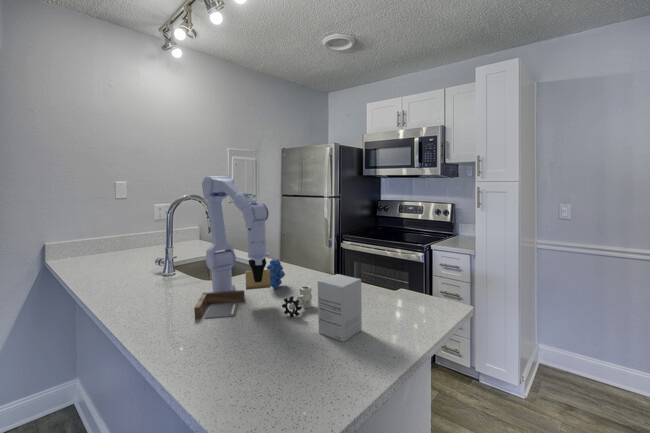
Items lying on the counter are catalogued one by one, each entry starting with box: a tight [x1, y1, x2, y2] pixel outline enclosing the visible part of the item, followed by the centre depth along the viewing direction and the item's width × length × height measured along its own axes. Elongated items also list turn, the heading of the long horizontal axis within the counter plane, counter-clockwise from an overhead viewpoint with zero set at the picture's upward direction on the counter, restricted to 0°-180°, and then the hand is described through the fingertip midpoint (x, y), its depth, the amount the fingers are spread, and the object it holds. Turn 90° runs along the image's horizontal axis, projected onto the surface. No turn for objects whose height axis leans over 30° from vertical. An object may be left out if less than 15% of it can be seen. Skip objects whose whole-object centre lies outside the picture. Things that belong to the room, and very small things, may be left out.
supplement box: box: [317, 273, 363, 343], centre depth 91 cm, size 9×9×15 cm
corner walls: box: [193, 289, 246, 320], centre depth 109 cm, size 14×14×4 cm
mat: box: [204, 302, 239, 320], centre depth 107 cm, size 11×9×1 cm
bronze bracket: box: [244, 269, 272, 290], centre depth 111 cm, size 8×5×6 cm, turn 105°
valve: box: [281, 285, 313, 318], centre depth 107 cm, size 7×7×12 cm
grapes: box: [266, 258, 286, 289], centre depth 128 cm, size 12×7×12 cm, turn 162°
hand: (258, 281), depth 109 cm, fingers closed on bronze bracket
